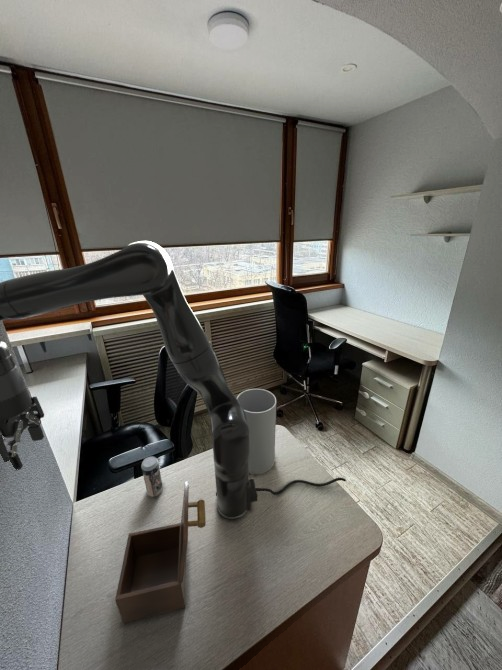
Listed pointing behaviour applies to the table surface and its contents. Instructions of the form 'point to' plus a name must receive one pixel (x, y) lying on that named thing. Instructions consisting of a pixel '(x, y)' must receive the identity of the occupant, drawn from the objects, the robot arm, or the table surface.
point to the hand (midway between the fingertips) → (28, 453)
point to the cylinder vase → (260, 428)
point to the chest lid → (185, 524)
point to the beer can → (152, 476)
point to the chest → (151, 574)
